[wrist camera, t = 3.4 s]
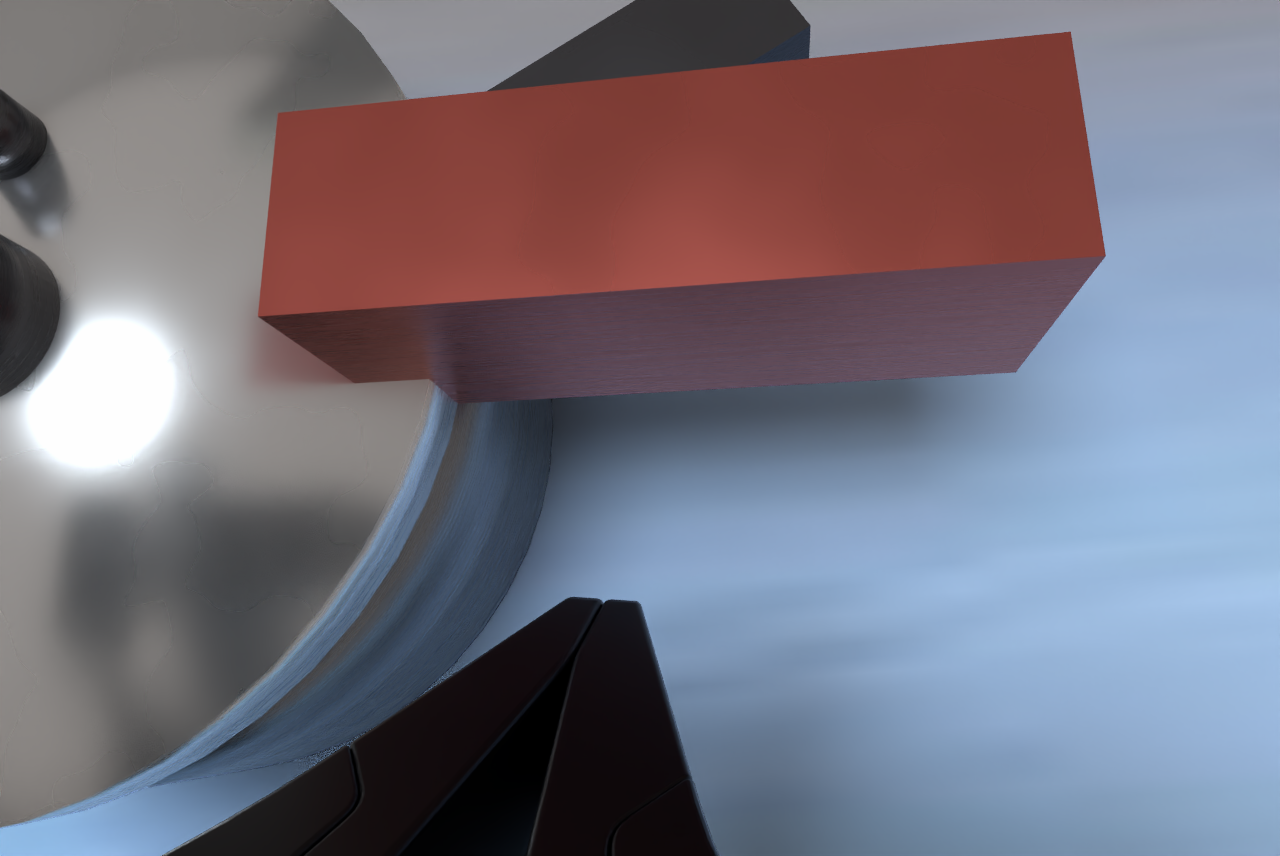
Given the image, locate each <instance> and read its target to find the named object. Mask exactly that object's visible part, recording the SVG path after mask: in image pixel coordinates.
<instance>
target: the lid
mask: <svg viewBox="0 0 1280 856" xmlns="http://www.w3.org/2000/svg"><path fill="white" fill-rule="evenodd" d="M1105 256H1106V255H1105V249H1104V242H1103V236H1102V229H1101V223H1100V217H1099V210H1098V204H1097V198H1096V191H1095V185H1094V178H1093V172H1092V166H1091V159H1090V153H1089V146H1088V140H1087V134H1086V127H1085V121H1084V114H1083V108H1082V102H1081V95H1080V89H1079V82H1078V76H1077V70H1076V63H1075V57H1074V50H1073V44H1072V38H1071V32H1064V33H1054V34H1044V35H1034V36H1024V37H1015V38H1005V39H995V40H985V41H976V42H966V43H956V44H946V45H936V46H927V47H917V48H907V49H897V50H888V51H878V52H868V53H858V54H848V55H839V56H829V57H819V58H809V59H800V60H790V61H780V62H770V63H760V64H751V65H741V66H731V67H721V68H712V69H702V70H692V71H682V72H672V73H663V74H653V75H643V76H633V77H624V78H614V79H604V80H594V81H585V82H575V83H565V84H555V85H545V86H536V87H526V88H516V89H506V90H497V91H487V92H477V93H467V94H457V95H448V96H438V97H428V98H418V99H409V100H407V98H406V96H405V95H404V93H403V92H402V90H401V89H400V87H399V86H398V84H397V82H396V81H395V79H394V78H393V76H392V75H391V73H390V72H389V70H388V69H387V68H386V66H385V65H384V64H383V62H382V61H381V59H380V58H379V57H378V55H377V54H376V53H375V51H374V50H373V48H372V47H371V46H370V44H369V43H368V42H367V40H366V39H365V37H364V36H363V35H362V33H361V32H360V31H359V30H358V29H357V28H356V27H355V26H354V25H353V24H352V23H351V22H350V21H349V20H348V19H347V18H346V17H345V16H344V15H343V14H342V13H341V12H340V11H339V10H338V9H337V8H336V7H335V6H334V5H333V4H332V3H331V2H330V1H329V0H0V829H1V828H6V827H12V826H17V825H22V824H27V823H31V822H36V821H40V820H45V819H49V818H54V817H58V816H63V815H67V814H72V813H76V812H81V811H85V810H88V809H91V808H93V807H96V806H99V805H101V804H104V803H107V802H109V801H112V800H115V799H117V798H120V797H123V796H125V795H128V794H131V793H133V792H136V791H139V790H141V789H144V788H147V787H149V786H150V785H152V784H154V783H156V782H158V781H160V780H162V779H164V778H165V777H167V776H169V775H171V774H173V773H175V772H177V771H178V770H180V769H182V768H184V767H186V766H188V765H190V764H192V763H193V762H195V761H197V760H199V759H201V758H203V757H205V756H206V755H208V754H209V753H211V752H212V751H213V750H215V749H216V748H218V747H219V746H220V745H222V744H223V743H225V742H226V741H228V740H229V739H230V738H232V737H233V736H235V735H236V734H237V733H239V732H240V731H242V730H243V729H244V728H246V727H247V726H249V725H250V724H251V723H253V722H254V721H256V720H257V719H258V718H260V717H261V716H263V715H264V714H265V713H266V712H267V711H268V710H269V709H270V708H271V707H272V706H273V705H275V704H276V703H277V702H278V701H279V700H280V699H281V698H282V697H283V696H284V695H286V694H287V693H288V692H289V691H290V690H291V689H292V688H293V687H294V686H295V685H296V684H298V683H299V682H300V681H301V680H302V679H303V678H304V677H305V676H306V675H307V674H309V673H310V672H311V671H312V670H313V669H314V668H315V667H316V665H317V664H318V663H319V662H320V661H321V660H322V658H323V657H324V656H325V655H326V654H327V653H328V651H329V650H330V649H331V648H332V647H333V646H334V645H335V643H336V642H337V641H338V640H339V639H340V638H341V636H342V635H343V634H344V633H345V632H346V631H347V629H348V628H349V627H350V626H351V625H352V624H353V622H354V621H355V620H356V619H357V618H358V617H359V615H360V614H361V612H362V611H363V609H364V608H365V606H366V605H367V603H368V602H369V600H370V599H371V597H372V596H373V594H374V593H375V591H376V590H377V588H378V587H379V585H380V584H381V583H382V581H383V580H384V578H385V577H386V575H387V574H388V572H389V571H390V569H391V568H392V566H393V565H394V563H395V562H396V560H397V558H398V556H399V554H400V552H401V550H402V549H403V547H404V545H405V543H406V541H407V539H408V537H409V535H410V533H411V531H412V529H413V527H414V525H415V523H416V521H417V519H418V517H419V515H420V514H421V512H422V510H423V508H424V506H425V504H426V502H427V499H428V497H429V494H430V491H431V489H432V486H433V483H434V481H435V478H436V475H437V472H438V470H439V467H440V464H441V462H442V459H443V456H444V454H445V451H446V448H447V445H448V443H449V440H450V435H451V431H452V427H453V423H454V418H455V414H456V410H457V406H458V404H460V403H478V402H496V401H513V400H531V399H549V398H567V397H585V396H602V395H620V394H638V393H656V392H673V391H691V390H709V389H727V388H745V387H762V386H780V385H798V384H816V383H834V382H851V381H869V380H887V379H905V378H922V377H940V376H958V375H976V374H994V373H1011V372H1016V371H1017V370H1018V368H1019V367H1020V366H1021V365H1022V363H1023V362H1024V361H1025V359H1026V358H1027V357H1028V356H1029V354H1030V353H1031V352H1032V350H1033V349H1034V348H1035V346H1036V345H1037V344H1038V343H1039V341H1040V340H1041V339H1042V337H1043V336H1044V335H1045V334H1046V332H1047V331H1048V330H1049V328H1050V327H1051V326H1052V325H1053V323H1054V322H1055V321H1056V319H1057V318H1058V317H1059V316H1060V314H1061V313H1062V312H1063V310H1064V309H1065V308H1066V307H1067V305H1068V304H1069V303H1070V301H1071V300H1072V299H1073V297H1074V296H1075V295H1076V294H1077V292H1078V291H1079V290H1080V288H1081V287H1082V286H1083V285H1084V283H1085V282H1086V281H1087V279H1088V278H1089V277H1090V276H1091V274H1092V273H1093V272H1094V270H1095V269H1096V268H1097V267H1098V265H1099V264H1100V263H1101V261H1102V260H1103V259H1104V257H1105Z"/></svg>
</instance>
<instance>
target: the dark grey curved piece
mask: <svg viewBox="0 0 1280 856" xmlns="http://www.w3.org/2000/svg"><path fill="white" fill-rule="evenodd" d="M809 44H810V24H809V23H808V22H807V21H806V20H805V18H804V17H803V16H802V15H801V13H800V12H799V11H798V10H797V9H796V7H795V6H794V5H793V4H792V2H791V1H790V0H635V1H633V2H632V3H630V4H629V5H627V6H625V7H624V8H622V9H620V10H619V11H617V12H615V13H614V14H612V15H611V16H609V17H607V18H606V19H604V20H602V21H601V22H599V23H598V24H596V25H594V26H593V27H591V28H589V29H588V30H586V31H584V32H583V33H581V34H580V35H578V36H576V37H575V38H573V39H571V40H570V41H568V42H566V43H565V44H563V45H562V46H560V47H558V48H557V49H555V50H553V51H552V52H550V53H549V54H547V55H545V56H544V57H542V58H540V59H539V60H537V61H535V62H534V63H532V64H531V65H529V66H527V67H526V68H524V69H522V70H521V71H519V72H518V73H516V74H514V75H513V76H511V77H509V78H508V79H506V80H504V81H503V82H501V83H500V84H498V85H496V86H495V87H493V88H491V89H490V90H488V91H497V90H506V89H516V88H526V87H536V86H545V85H555V84H565V83H575V82H585V81H594V80H604V79H614V78H624V77H633V76H643V75H653V74H663V73H672V72H682V71H692V70H702V69H712V68H721V67H731V66H741V65H751V64H760V63H770V62H780V61H790V60H800V59H809ZM486 92H487V91H486ZM552 432H553V422H552V404H551V398H549V399H531V400H513V401H496V402H478V403H460V404H458V406H457V410H456V414H455V418H454V423H453V427H452V431H451V435H450V440H449V443H448V445H447V448H446V451H445V454H444V456H443V459H442V462H441V464H440V467H439V470H438V472H437V475H436V478H435V481H434V483H433V486H432V489H431V491H430V494H429V497H428V499H427V502H426V504H425V506H424V508H423V510H422V512H421V514H420V515H419V517H418V519H417V521H416V523H415V525H414V527H413V529H412V531H411V533H410V535H409V537H408V539H407V541H406V543H405V545H404V547H403V549H402V550H401V552H400V554H399V556H398V558H397V560H396V562H395V563H394V565H393V566H392V568H391V569H390V571H389V572H388V574H387V575H386V577H385V578H384V580H383V581H382V583H381V584H380V585H379V587H378V588H377V590H376V591H375V593H374V594H373V596H372V597H371V599H370V600H369V602H368V603H367V605H366V606H365V608H364V609H363V611H362V612H361V614H360V615H359V617H358V618H357V619H356V620H355V621H354V622H353V624H352V625H351V626H350V627H349V628H348V629H347V631H346V632H345V633H344V634H343V635H342V636H341V638H340V639H339V640H338V641H337V642H336V643H335V645H334V646H333V647H332V648H331V649H330V650H329V651H328V653H327V654H326V655H325V656H324V657H323V658H322V660H321V661H320V662H319V663H318V664H317V665H316V667H315V668H314V669H313V670H312V671H311V672H310V673H309V674H307V675H306V676H305V677H304V678H303V679H302V680H301V681H300V682H299V683H298V684H296V685H295V686H294V687H293V688H292V689H291V690H290V691H289V692H288V693H287V694H286V695H284V696H283V697H282V698H281V699H280V700H279V701H278V702H277V703H276V704H275V705H273V706H272V707H271V708H270V709H269V710H268V711H267V712H266V713H265V714H264V715H263V716H261V717H260V718H258V719H257V720H256V721H254V722H253V723H251V724H250V725H249V726H247V727H246V728H244V729H243V730H242V731H240V732H239V733H237V734H236V735H235V736H233V737H232V738H230V739H229V740H228V741H226V742H225V743H223V744H222V745H220V746H219V747H218V748H216V749H215V750H213V751H212V752H211V753H209V754H208V755H206V756H205V757H203V758H201V759H199V760H197V761H195V762H193V763H192V764H190V765H188V766H186V767H184V768H182V769H180V770H178V771H177V772H175V773H173V774H171V775H169V776H167V777H165V778H164V779H162V780H160V781H158V782H156V783H154V784H152V785H150V786H149V787H153V786H159V785H164V784H170V783H176V782H182V781H187V780H193V779H199V778H204V777H210V776H216V775H222V774H227V773H233V772H239V771H244V770H250V769H256V768H261V767H266V766H270V765H275V764H279V763H284V762H288V761H293V760H297V759H302V758H305V757H308V756H310V755H313V754H316V753H318V752H321V751H324V750H326V749H329V748H332V747H334V746H337V745H340V744H342V743H345V742H346V741H348V740H350V739H352V738H354V737H356V736H358V735H360V734H361V733H363V732H365V731H367V730H369V729H371V728H373V727H374V726H376V725H378V724H380V723H381V722H383V721H384V720H386V719H387V718H389V717H390V716H392V715H393V714H395V713H396V712H398V711H399V710H400V709H402V708H403V707H405V706H406V705H407V704H409V703H410V702H412V701H413V700H414V699H416V698H417V697H419V696H420V695H421V694H422V693H423V692H424V691H425V690H426V689H427V688H429V687H430V686H431V685H432V684H433V683H434V682H435V681H436V680H437V679H438V678H439V677H440V676H442V675H443V674H444V673H445V672H446V671H447V670H448V669H449V668H450V667H451V666H452V665H453V664H454V663H455V662H456V661H457V660H458V658H459V657H460V656H461V655H462V654H463V652H464V651H465V650H466V649H467V648H468V647H469V645H470V644H471V643H472V642H473V641H474V639H475V638H476V637H477V636H478V635H479V634H480V632H481V631H482V630H483V628H484V627H485V625H486V624H487V622H488V621H489V619H490V618H491V616H492V615H493V613H494V612H495V610H496V608H497V607H498V605H499V604H500V602H501V601H502V599H503V598H504V596H505V595H506V593H507V591H508V589H509V587H510V585H511V583H512V581H513V579H514V577H515V575H516V573H517V571H518V569H519V567H520V565H521V563H522V561H523V559H524V557H525V555H526V553H527V550H528V547H529V544H530V541H531V538H532V535H533V532H534V530H535V527H536V524H537V521H538V518H539V515H540V512H541V508H542V503H543V499H544V494H545V489H546V484H547V479H548V475H549V470H550V458H551V445H552Z"/></svg>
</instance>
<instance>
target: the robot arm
mask: <svg viewBox="0 0 1280 856" xmlns="http://www.w3.org/2000/svg"><path fill="white" fill-rule="evenodd" d="M350 748H351V749H350ZM162 856H719V854H718V851H717V849H716V847H715V845H714V842H713V839H712V836H711V834H710V831H709V828H708V825H707V822H706V819H705V816H704V813H703V811H702V808H701V805H700V801H699V798H698V794H697V791H696V787H695V784H694V782H693V781H692V776H691V773H690V770H689V766H688V763H687V759H686V756H685V753H684V749H683V746H682V743H681V739H680V736H679V732H678V729H677V726H676V722H675V719H674V715H673V712H672V709H671V705H670V702H669V698H668V695H667V692H666V688H665V685H664V681H663V678H662V675H661V671H660V668H659V664H658V661H657V658H656V654H655V651H654V647H653V644H652V641H651V637H650V634H649V630H648V627H647V623H646V620H645V617H644V613H643V610H642V607H641V604H640V603H639V602H637V601H626V600H612V599H611V600H607V601H605V603H603V601H602V600H600V599H597V598H582V597H570V598H567V599H565V600H564V601H562V602H561V603H559V604H558V605H556V606H555V607H553V608H552V609H550V610H549V611H547V612H546V613H544V614H543V615H541V616H540V617H538V618H537V619H535V620H534V621H532V622H531V623H529V624H528V625H526V626H525V627H523V628H522V629H520V630H519V631H517V632H516V633H514V634H513V635H511V636H510V637H508V638H507V639H505V640H504V641H502V642H501V643H499V644H498V645H496V646H495V647H493V648H492V649H490V650H489V651H488V652H486V653H485V654H483V655H482V656H480V657H479V658H477V659H476V660H474V661H473V662H471V663H470V664H468V665H467V666H465V667H464V668H462V669H461V670H459V671H458V672H456V673H455V674H453V675H452V676H450V677H449V678H447V679H446V680H444V681H443V682H441V683H440V684H438V685H437V686H435V687H434V688H432V689H431V690H429V691H428V692H426V693H425V694H423V695H422V696H420V697H419V698H417V699H416V700H414V701H413V702H411V703H410V704H408V705H407V706H405V707H404V708H402V709H401V710H399V711H398V712H396V713H395V714H393V715H392V716H390V717H389V718H387V719H386V720H384V721H383V722H381V723H380V724H378V725H377V726H375V727H374V728H372V729H371V730H369V731H368V732H366V733H365V734H363V735H362V736H360V737H359V738H357V739H356V740H354V741H353V742H352V743H351V745H350V747H349V746H343V747H342V748H340V749H339V750H337V751H336V752H334V753H333V754H331V755H330V756H328V757H327V758H325V759H324V760H322V761H321V762H319V763H318V764H316V765H315V766H313V767H312V768H310V769H309V770H307V771H305V772H304V773H302V774H301V775H299V776H297V777H296V778H294V779H293V780H291V781H290V782H288V783H286V784H285V785H283V786H282V787H280V788H279V789H277V790H275V791H274V792H272V793H271V794H269V795H267V796H266V797H264V798H262V799H260V800H259V801H257V802H255V803H254V804H252V805H250V806H248V807H247V808H245V809H243V810H241V811H240V812H238V813H236V814H235V815H233V816H231V817H229V818H228V819H226V820H224V821H223V822H221V823H219V824H217V825H216V826H214V827H212V828H210V829H208V830H207V831H205V832H203V833H201V834H199V835H198V836H196V837H194V838H192V839H191V840H189V841H187V842H185V843H183V844H182V845H180V846H178V847H176V848H174V849H173V850H171V851H169V852H167V853H166V854H164V855H162Z"/></svg>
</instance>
